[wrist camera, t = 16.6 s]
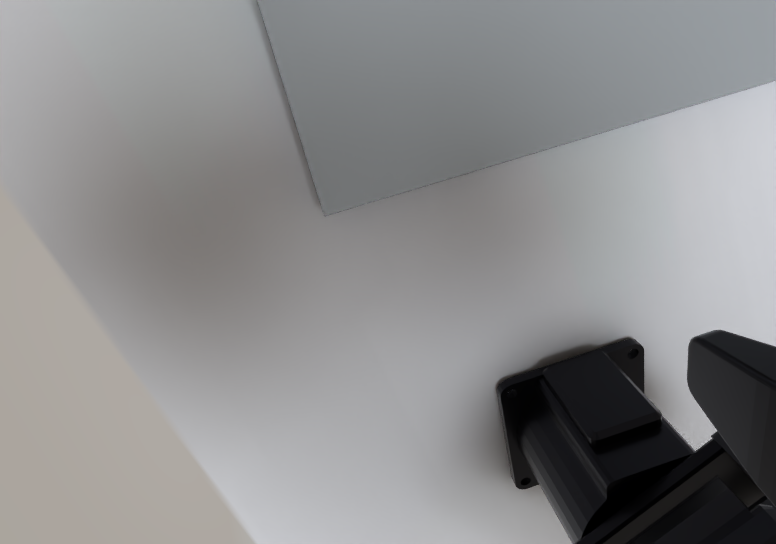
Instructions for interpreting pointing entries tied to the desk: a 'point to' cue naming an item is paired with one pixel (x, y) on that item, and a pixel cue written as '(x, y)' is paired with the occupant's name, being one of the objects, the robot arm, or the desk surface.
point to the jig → (494, 78)
